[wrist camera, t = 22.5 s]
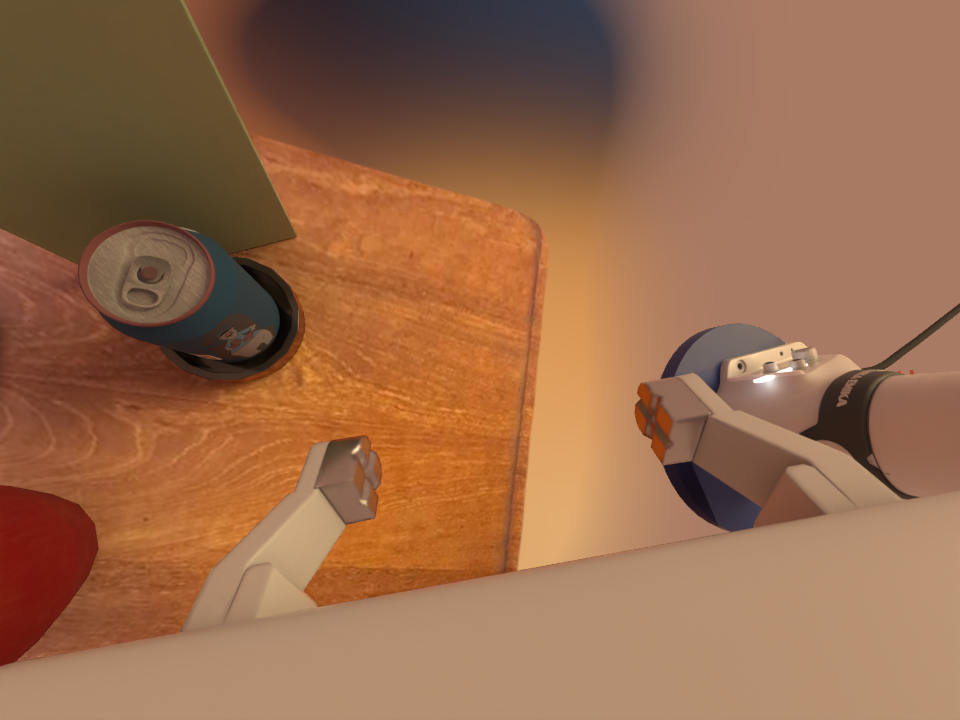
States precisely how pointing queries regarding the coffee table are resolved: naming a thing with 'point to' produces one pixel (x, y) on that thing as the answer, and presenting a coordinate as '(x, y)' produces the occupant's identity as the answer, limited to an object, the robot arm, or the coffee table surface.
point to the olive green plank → (122, 129)
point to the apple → (39, 564)
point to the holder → (275, 353)
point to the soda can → (177, 291)
